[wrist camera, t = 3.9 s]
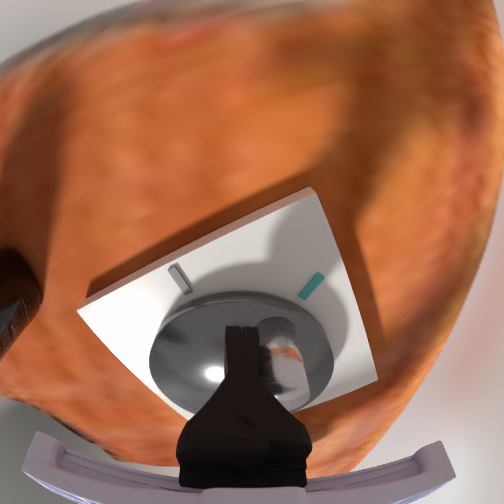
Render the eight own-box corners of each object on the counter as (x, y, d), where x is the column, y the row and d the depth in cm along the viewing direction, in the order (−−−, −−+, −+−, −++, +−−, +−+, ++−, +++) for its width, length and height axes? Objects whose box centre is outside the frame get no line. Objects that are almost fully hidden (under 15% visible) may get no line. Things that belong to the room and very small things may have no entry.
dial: (277, 419, 21) (282, 475, 16) (141, 383, 19) (123, 444, 14) (363, 326, 17) (396, 394, 11) (182, 259, 14) (152, 333, 9)
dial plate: (372, 367, 21) (378, 381, 20) (206, 421, 24) (205, 434, 23) (309, 186, 15) (317, 193, 13) (85, 298, 17) (75, 312, 16)
